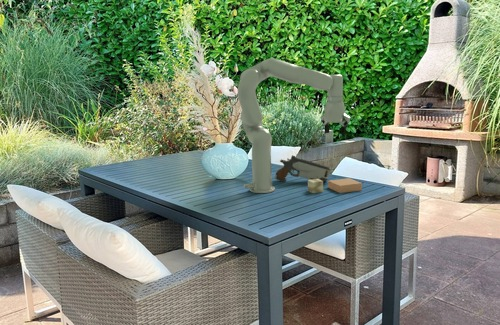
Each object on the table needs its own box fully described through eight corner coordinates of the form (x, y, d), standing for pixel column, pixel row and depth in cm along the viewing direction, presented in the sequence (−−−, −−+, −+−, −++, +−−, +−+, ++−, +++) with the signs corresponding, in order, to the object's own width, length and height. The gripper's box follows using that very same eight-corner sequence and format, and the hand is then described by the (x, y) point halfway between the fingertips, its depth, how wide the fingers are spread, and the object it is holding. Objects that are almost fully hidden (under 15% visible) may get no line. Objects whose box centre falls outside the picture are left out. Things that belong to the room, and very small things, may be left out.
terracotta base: (339, 193, 205) (339, 185, 204) (328, 188, 216) (327, 180, 215) (361, 191, 208) (361, 183, 208) (348, 185, 220) (348, 178, 219)
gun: (323, 194, 228) (331, 167, 224) (273, 179, 232) (281, 153, 228) (323, 191, 232) (331, 165, 229) (275, 177, 236) (282, 151, 233)
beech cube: (312, 193, 206) (312, 182, 205) (307, 190, 211) (307, 180, 210) (323, 192, 208) (323, 181, 207) (317, 189, 213) (317, 178, 212)
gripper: (316, 100, 218) (316, 133, 222) (345, 100, 206) (345, 135, 210) (325, 99, 224) (325, 131, 227) (354, 99, 212) (353, 133, 215)
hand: (335, 133), depth 218 cm, fingers open, 9 cm apart
